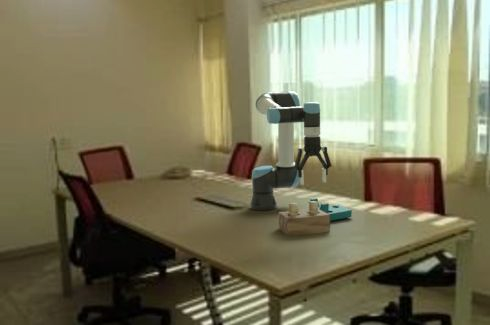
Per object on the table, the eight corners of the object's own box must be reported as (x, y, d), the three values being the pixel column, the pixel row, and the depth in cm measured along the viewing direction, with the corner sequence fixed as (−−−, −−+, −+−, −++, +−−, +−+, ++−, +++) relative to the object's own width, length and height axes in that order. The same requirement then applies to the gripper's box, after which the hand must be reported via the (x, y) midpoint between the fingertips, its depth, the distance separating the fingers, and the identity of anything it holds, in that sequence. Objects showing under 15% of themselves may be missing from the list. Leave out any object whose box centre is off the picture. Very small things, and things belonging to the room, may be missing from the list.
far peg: (308, 218, 251) (307, 201, 250) (316, 217, 252) (315, 200, 251) (311, 220, 247) (310, 203, 246) (319, 219, 248) (318, 202, 247)
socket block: (279, 228, 253) (278, 212, 252) (318, 224, 258) (317, 208, 257) (288, 236, 240) (288, 218, 238) (329, 231, 245) (329, 214, 243)
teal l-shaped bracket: (321, 224, 259) (322, 204, 257) (309, 218, 269) (310, 198, 267) (351, 219, 267) (352, 199, 265) (338, 213, 277) (339, 194, 275)
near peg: (288, 220, 248) (287, 203, 247) (296, 219, 249) (295, 202, 248) (291, 222, 244) (290, 205, 243) (299, 221, 245) (298, 204, 244)
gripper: (291, 138, 238) (292, 186, 241) (338, 135, 243) (339, 182, 246) (286, 136, 245) (287, 183, 248) (331, 134, 251) (332, 180, 254)
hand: (313, 183), depth 247 cm, fingers open, 10 cm apart
